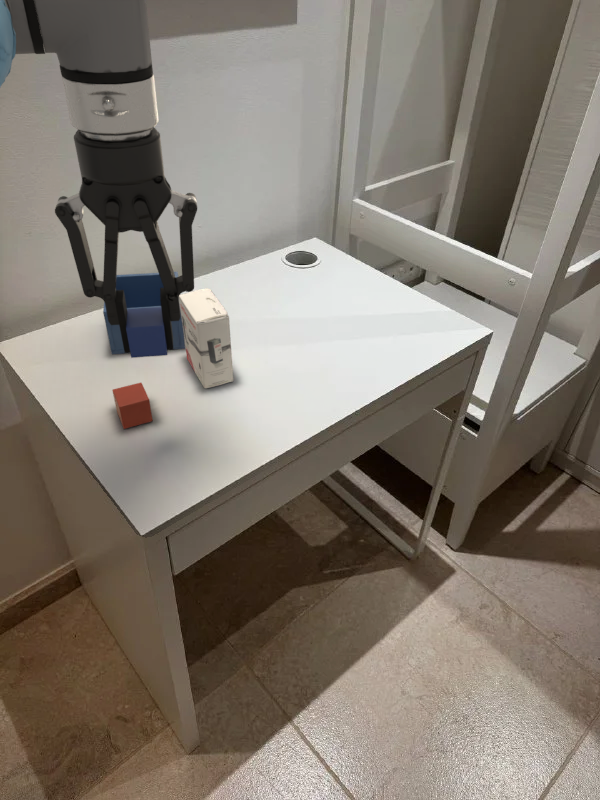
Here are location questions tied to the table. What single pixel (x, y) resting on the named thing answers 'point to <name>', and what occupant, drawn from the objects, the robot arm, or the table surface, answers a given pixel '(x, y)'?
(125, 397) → the terracotta block
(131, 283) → the blue bin
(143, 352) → the blue block
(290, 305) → the table surface
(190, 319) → the ink box
